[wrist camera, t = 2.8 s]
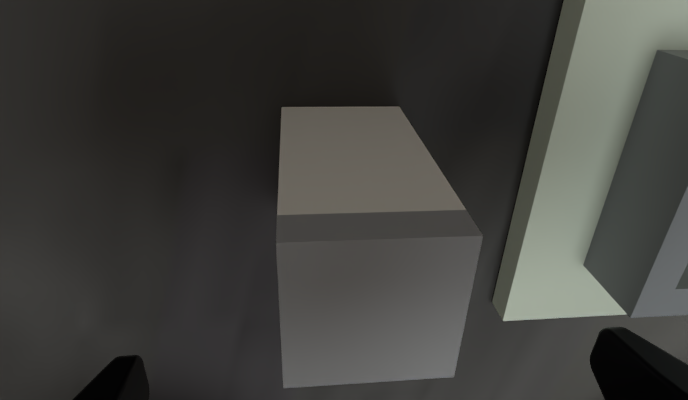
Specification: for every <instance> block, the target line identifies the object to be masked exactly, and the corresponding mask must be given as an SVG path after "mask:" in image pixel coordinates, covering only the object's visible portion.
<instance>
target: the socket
mask: <svg viewBox="0 0 688 400" xmlns="http://www.w3.org/2000/svg"><path fill="white" fill-rule="evenodd" d="M492 303H493V304H494V306H495V308H496V310H497V312H498V313H499V315H500V317H501V319H502V321H512V320H531V319H549V318H568V317H587V316H605V315H624V314H627V315H628V316H629V317H630V318H637V317H656V316H674V315H688V0H564V1H563V5H562V10H561V14H560V18H559V22H558V26H557V31H556V35H555V39H554V43H553V48H552V52H551V56H550V60H549V64H548V69H547V73H546V77H545V81H544V85H543V90H542V94H541V98H540V102H539V106H538V111H537V115H536V119H535V123H534V128H533V132H532V136H531V140H530V144H529V149H528V153H527V157H526V161H525V165H524V170H523V174H522V178H521V182H520V186H519V191H518V195H517V199H516V203H515V208H514V212H513V216H512V220H511V224H510V229H509V233H508V237H507V241H506V245H505V250H504V254H503V258H502V262H501V266H500V271H499V275H498V279H497V283H496V288H495V292H494V296H493V300H492Z"/></svg>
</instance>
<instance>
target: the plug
mask: <svg viewBox="0 0 688 400" xmlns="http://www.w3.org/2000/svg"><path fill="white" fill-rule="evenodd" d="M482 238H483V235H482V233H481V232H480V230H479V229H478V227H477V226H476V224H475V223H474V221H473V219H472V218H471V216H470V215H469V213H468V212H467V210H466V209H465V207H464V206H463V204H462V203H461V201H460V199H459V198H458V196H457V195H456V193H455V192H454V190H453V189H452V187H451V186H450V184H449V182H448V181H447V179H446V178H445V176H444V175H443V173H442V172H441V170H440V169H439V167H438V165H437V164H436V162H435V161H434V159H433V158H432V156H431V155H430V153H429V152H428V150H427V149H426V147H425V145H424V144H423V142H422V141H421V139H420V138H419V136H418V135H417V133H416V132H415V130H414V128H413V127H412V125H411V124H410V122H409V121H408V119H407V118H406V116H405V115H404V113H403V111H402V110H401V108H400V107H399V106H386V107H282V109H281V133H280V157H279V182H278V206H277V231H276V253H277V272H278V292H279V312H280V331H281V351H282V371H283V388H295V387H310V386H325V385H340V384H356V383H371V382H386V381H401V380H416V379H431V378H446V377H454V374H455V369H456V364H457V359H458V354H459V349H460V345H461V340H462V335H463V330H464V325H465V320H466V316H467V311H468V306H469V301H470V296H471V292H472V287H473V282H474V277H475V272H476V267H477V263H478V258H479V253H480V248H481V243H482Z"/></svg>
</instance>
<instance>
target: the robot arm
mask: <svg viewBox="0 0 688 400" xmlns="http://www.w3.org/2000/svg"><path fill="white" fill-rule="evenodd" d="M590 365H591V369H592V371H593V373H594V376H595V378H596V380H597V383H598V385H599V387H600V389H601V392H602V394H603V396H604V399H605V400H688V365H687V364H686V363H684V362H682V361H681V360H679V359H677V358H676V357H674V356H672V355H670V354H669V353H667V352H665V351H664V350H662V349H660V348H659V347H657V346H655V345H653V344H652V343H650V342H648V341H647V340H645V339H643V338H642V337H640V336H638V335H636V334H635V333H633V332H631V331H630V330H628V329H626V328H623V327H610V328H603V329H602V330H601V331H600V332H599V335H598V337H597V340H596V342H595V345H594V347H593V350H592V352H591V355H590ZM73 400H149V384H148V380H147V376H146V372H145V368H144V364H143V361H142V358H141V357H140V356H137V355H132V356H119V357H116V358H115V359H113V360H112V361H111V362H110V363H109V364H108V365H107V366H106V367H105V368H104V369H103V370H102V371H101V372H100V373H99V374H98V375H97V376H96V377H95V378H94V379H93V380H92V381H91V382H90V383H89V384H88V385H87V386H86V387H85V388H84V389H83V390H82V391H81V392H80V393H79V394H78V395H77V396H76V397H75V398H74V399H73Z"/></svg>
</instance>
